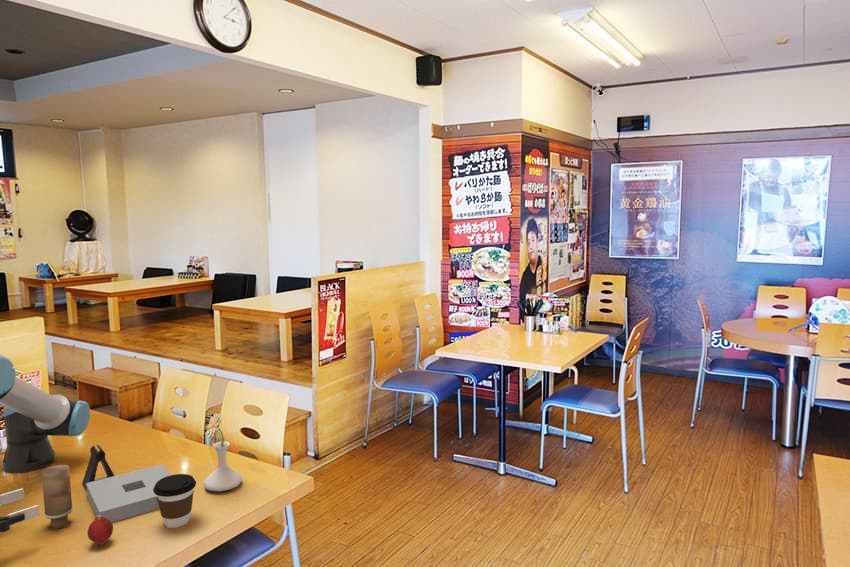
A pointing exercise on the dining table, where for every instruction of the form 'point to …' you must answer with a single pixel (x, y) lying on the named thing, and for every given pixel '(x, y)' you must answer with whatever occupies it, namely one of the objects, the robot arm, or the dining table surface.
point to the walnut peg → (57, 494)
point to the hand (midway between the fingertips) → (31, 501)
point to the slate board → (126, 493)
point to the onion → (100, 530)
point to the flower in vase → (220, 461)
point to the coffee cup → (175, 499)
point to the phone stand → (93, 464)
